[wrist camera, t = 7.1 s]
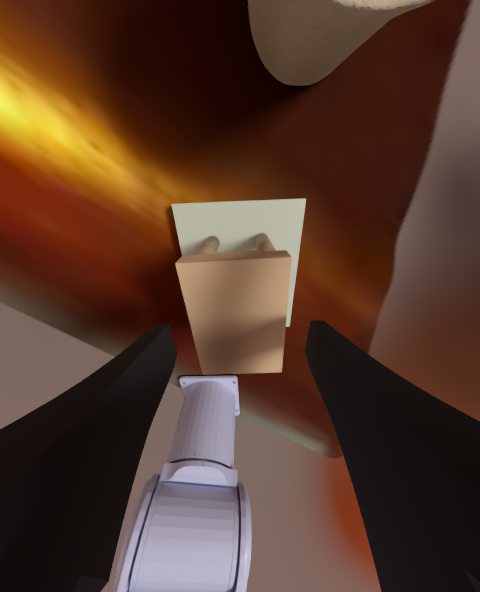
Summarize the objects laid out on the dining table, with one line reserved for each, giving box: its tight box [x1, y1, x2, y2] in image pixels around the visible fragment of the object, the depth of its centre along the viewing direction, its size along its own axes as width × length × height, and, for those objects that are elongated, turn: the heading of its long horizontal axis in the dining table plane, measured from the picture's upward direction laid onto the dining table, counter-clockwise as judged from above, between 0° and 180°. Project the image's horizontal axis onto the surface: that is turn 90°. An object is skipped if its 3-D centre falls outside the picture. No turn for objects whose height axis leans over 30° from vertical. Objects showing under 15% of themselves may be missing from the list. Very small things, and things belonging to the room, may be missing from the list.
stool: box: [175, 233, 292, 375], centre depth 13 cm, size 5×8×7 cm
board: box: [172, 198, 306, 327], centre depth 17 cm, size 12×10×1 cm
